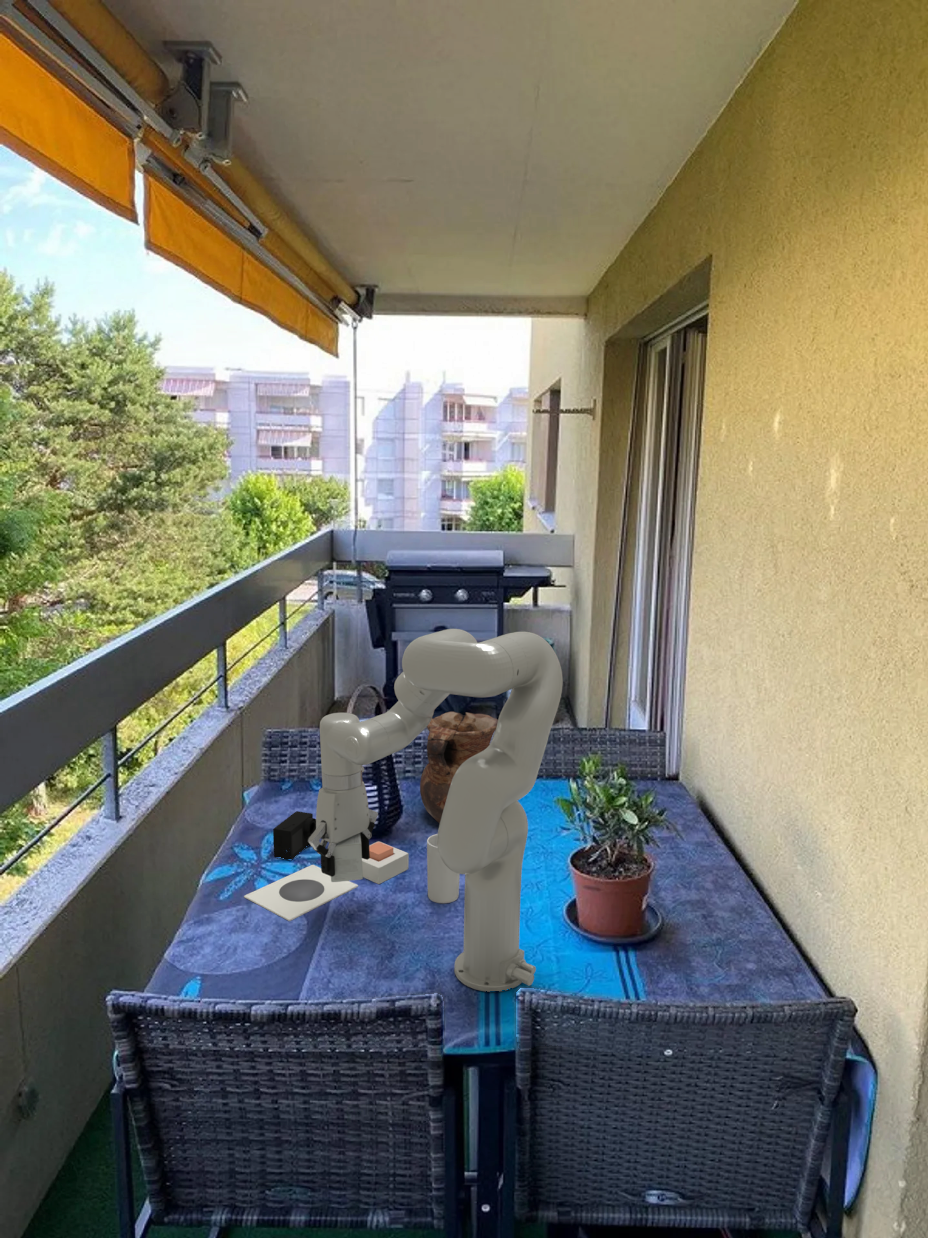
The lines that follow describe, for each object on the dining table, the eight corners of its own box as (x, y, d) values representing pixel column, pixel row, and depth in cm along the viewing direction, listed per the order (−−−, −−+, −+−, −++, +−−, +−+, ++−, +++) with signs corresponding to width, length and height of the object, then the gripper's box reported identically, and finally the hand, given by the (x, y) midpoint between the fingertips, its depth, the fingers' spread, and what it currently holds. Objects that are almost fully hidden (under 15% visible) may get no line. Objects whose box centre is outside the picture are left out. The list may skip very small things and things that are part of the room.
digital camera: (295, 862, 192) (295, 832, 190) (273, 858, 193) (272, 828, 192) (318, 842, 201) (317, 813, 200) (296, 839, 203) (296, 810, 202)
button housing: (408, 869, 189) (408, 853, 188) (378, 884, 182) (378, 868, 182) (378, 856, 195) (378, 841, 194) (348, 870, 188) (348, 855, 187)
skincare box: (363, 880, 167) (361, 843, 165) (330, 883, 166) (329, 846, 164) (361, 866, 172) (360, 830, 171) (330, 869, 172) (328, 833, 170)
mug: (455, 906, 174) (456, 849, 172) (422, 902, 175) (423, 845, 173) (466, 882, 184) (467, 828, 181) (435, 878, 185) (436, 825, 183)
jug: (428, 797, 228) (428, 704, 224) (508, 803, 226) (511, 709, 221) (411, 833, 207) (411, 731, 202) (500, 840, 204) (502, 736, 199)
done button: (393, 858, 188) (393, 847, 188) (378, 865, 185) (378, 854, 185) (378, 852, 191) (378, 841, 191) (364, 859, 188) (364, 848, 187)
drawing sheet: (358, 886, 181) (358, 884, 181) (289, 921, 167) (289, 919, 167) (312, 865, 190) (312, 864, 190) (244, 897, 176) (243, 895, 176)
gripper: (361, 763, 175) (364, 845, 178) (293, 788, 162) (297, 877, 165) (388, 770, 170) (391, 855, 173) (320, 796, 157) (325, 888, 160)
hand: (346, 865), depth 169 cm, fingers closed on skincare box, 8 cm apart
